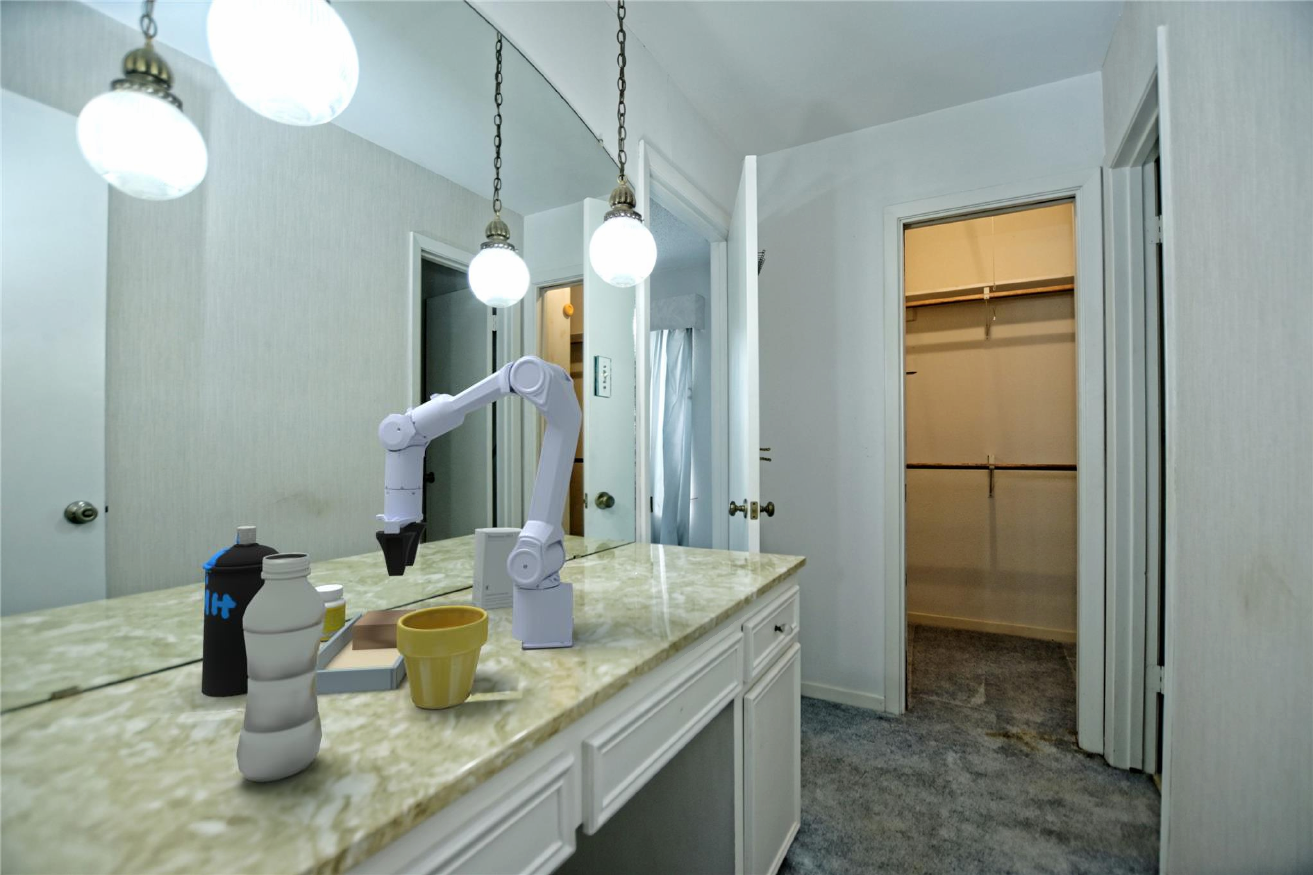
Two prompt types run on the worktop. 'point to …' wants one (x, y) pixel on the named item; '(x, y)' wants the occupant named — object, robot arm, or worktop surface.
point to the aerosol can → (230, 612)
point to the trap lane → (356, 665)
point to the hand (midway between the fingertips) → (401, 570)
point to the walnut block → (377, 629)
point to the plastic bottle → (282, 671)
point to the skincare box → (493, 567)
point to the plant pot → (441, 652)
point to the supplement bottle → (332, 610)
